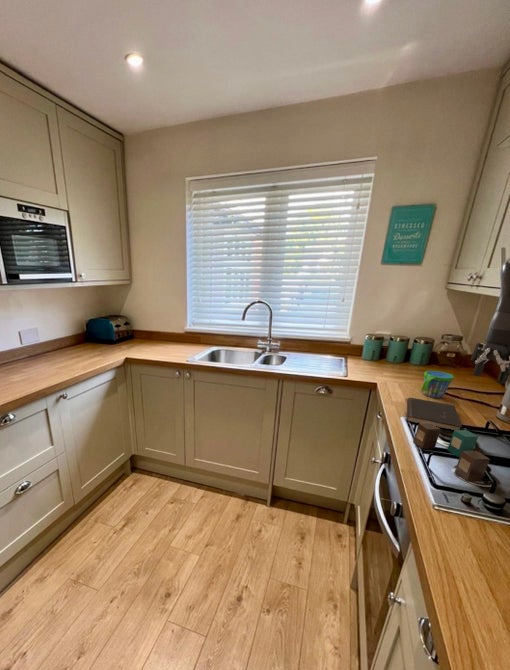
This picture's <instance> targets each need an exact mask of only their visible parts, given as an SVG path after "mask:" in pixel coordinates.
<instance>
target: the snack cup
mask: <svg viewBox="0 0 510 670" xmlns="http://www.w3.org/2000/svg"><path fill="white" fill-rule="evenodd" d="M423 376H424V378H423V384H422V385H421V390H422V394H423V395H424V396H425V397H429V398H433V399H442V398H444V396H445V394H446V393H447V390H448V388H449V386H450V385H451V383H452V381H453V380H454V379H455V376H454V375H453V374H451V373H448V372H444V371H439V370H426V371H425V372H424V373H423Z"/></svg>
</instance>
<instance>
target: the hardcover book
mask: <svg viewBox="0 0 510 670" xmlns="http://www.w3.org/2000/svg"><path fill="white" fill-rule="evenodd" d="M406 421H407V422H408V421H412V422H417V423H431V424H433V425H435V426H437V427H441V428H446V429H451V430H461V428H463V426H462V425H463V424H462V422H461V420H460V417H459V413H458V411H457V408H456V405H455V404H449V403H443V402H438V401H432V400H428V399H427V400H426V399H421V398H415V397H408V398H407V401H406Z"/></svg>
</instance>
